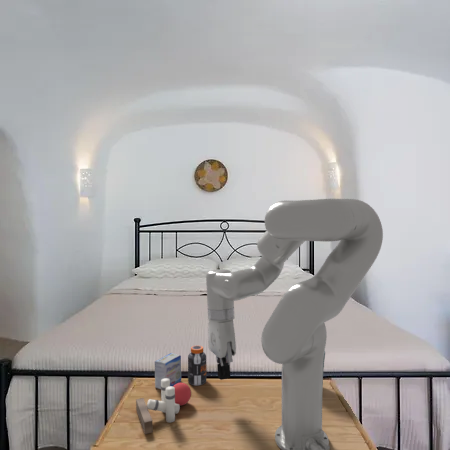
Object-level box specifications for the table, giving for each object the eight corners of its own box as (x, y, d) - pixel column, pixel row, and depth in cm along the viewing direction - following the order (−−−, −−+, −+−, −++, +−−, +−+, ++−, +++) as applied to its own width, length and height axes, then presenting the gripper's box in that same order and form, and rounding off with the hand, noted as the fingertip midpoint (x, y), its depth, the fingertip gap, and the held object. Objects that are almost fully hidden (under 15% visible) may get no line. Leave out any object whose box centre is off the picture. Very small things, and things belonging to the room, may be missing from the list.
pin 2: (176, 421, 98) (176, 389, 98) (167, 423, 97) (166, 391, 97) (173, 416, 101) (173, 385, 100) (164, 418, 100) (164, 387, 99)
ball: (166, 403, 103) (187, 405, 102) (170, 380, 106) (190, 382, 105) (170, 405, 108) (190, 407, 107) (174, 383, 111) (193, 385, 110)
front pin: (180, 406, 101) (151, 401, 98) (177, 415, 101) (147, 411, 98) (178, 402, 103) (149, 397, 100) (174, 410, 103) (146, 406, 100)
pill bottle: (203, 386, 117) (203, 351, 116) (185, 385, 118) (185, 350, 117) (208, 378, 123) (208, 344, 122) (191, 376, 124) (190, 343, 123)
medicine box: (165, 391, 114) (165, 363, 114) (154, 387, 116) (154, 360, 116) (181, 381, 121) (181, 354, 120) (171, 377, 123) (170, 352, 123)
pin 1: (171, 411, 103) (171, 381, 102) (162, 413, 102) (162, 383, 101) (169, 407, 105) (168, 377, 105) (160, 409, 104) (159, 379, 104)
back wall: (152, 432, 94) (152, 420, 93) (144, 434, 93) (144, 422, 93) (143, 408, 105) (143, 397, 104) (136, 409, 104) (136, 399, 104)
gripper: (199, 310, 111) (202, 371, 111) (218, 321, 97) (222, 391, 98) (223, 306, 114) (225, 366, 114) (244, 317, 100) (247, 385, 101)
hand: (224, 377), depth 106 cm, fingers closed
